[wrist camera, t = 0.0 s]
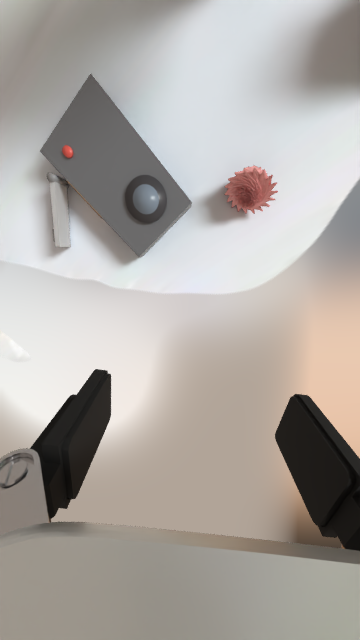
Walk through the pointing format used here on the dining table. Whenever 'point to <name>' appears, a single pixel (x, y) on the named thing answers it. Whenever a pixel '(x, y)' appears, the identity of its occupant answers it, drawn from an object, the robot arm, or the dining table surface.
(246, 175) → the flower
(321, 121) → the dining table surface
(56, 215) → the port door
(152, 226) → the camera body
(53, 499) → the robot arm
